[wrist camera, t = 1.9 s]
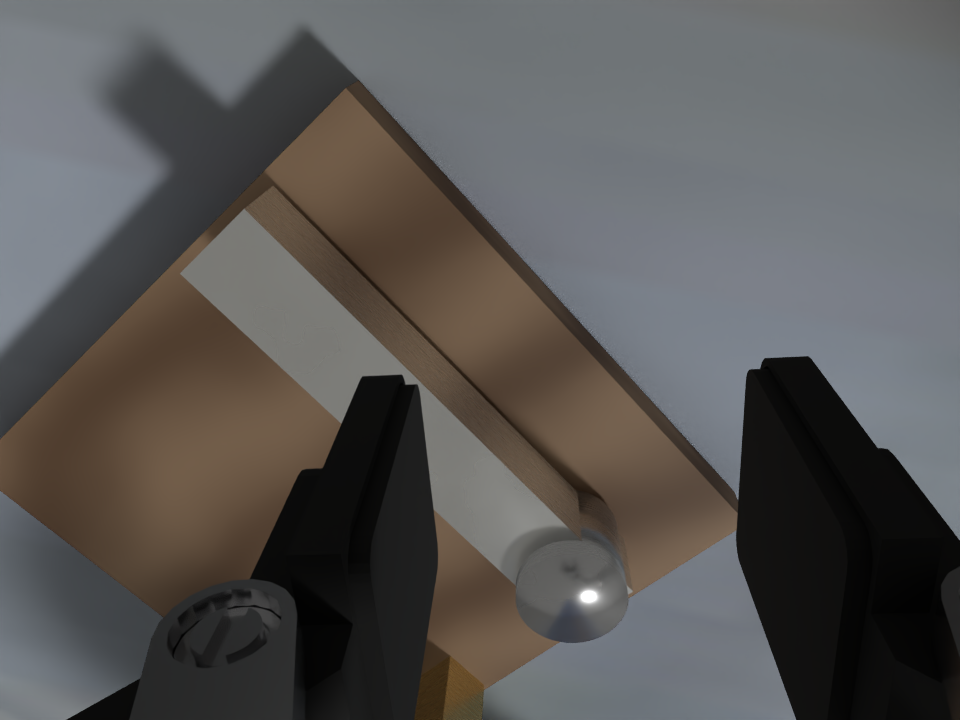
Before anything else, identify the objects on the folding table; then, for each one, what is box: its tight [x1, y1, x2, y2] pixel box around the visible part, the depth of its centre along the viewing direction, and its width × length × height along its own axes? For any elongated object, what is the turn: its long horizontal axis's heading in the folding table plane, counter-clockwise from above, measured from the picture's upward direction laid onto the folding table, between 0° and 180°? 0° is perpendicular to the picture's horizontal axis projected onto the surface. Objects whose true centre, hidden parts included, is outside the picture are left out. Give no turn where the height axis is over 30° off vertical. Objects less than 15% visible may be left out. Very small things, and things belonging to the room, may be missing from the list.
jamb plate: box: [0, 80, 738, 690], centre depth 31 cm, size 20×20×2 cm
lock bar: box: [180, 186, 633, 643], centre depth 26 cm, size 17×4×4 cm, turn 42°
